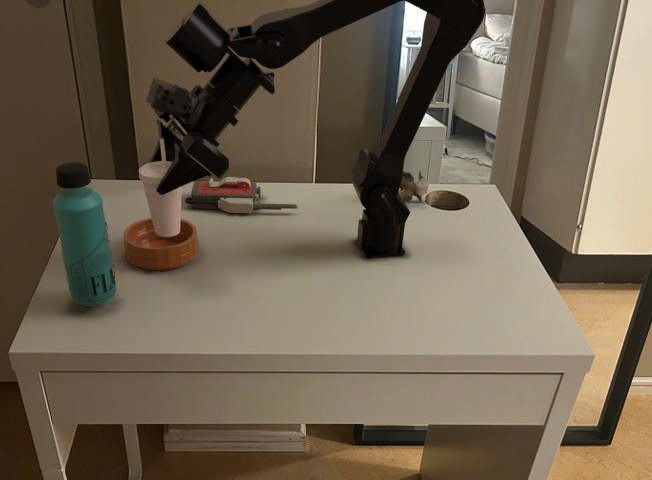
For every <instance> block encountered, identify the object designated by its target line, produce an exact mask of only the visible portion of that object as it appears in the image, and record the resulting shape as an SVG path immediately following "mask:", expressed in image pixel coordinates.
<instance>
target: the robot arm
mask: <svg viewBox="0 0 652 480" xmlns="http://www.w3.org/2000/svg"><path fill="white" fill-rule="evenodd" d="M400 2H405V3H408V4H410V5H412V6H414V7H416V8H418V9H420V10H421V11H423V12H426V14H425V17H424V21H423V28H422V35H421V43H420V49H419V51H418V53H417V55H416V58H415V60H414V62H413V64H412V66H411V69H410V71H409V73H408V74H407V78H406V79H405V82H404V85H403V87H402V89H401V91H400V94H399V96H398V98H397V99H396V103H395V105H394V107H393V109H392V111H391V113H390V116H389V118H388V120H387V123H386V125H385V127H384V129H383V131H382V134H381V135H380V138H379V140H378V142H377V143H376V144H375V145H374V146H373V147H372V148H371V149H370V150H367V148H365V147H361V148H360V150H359V153H358V158H357V161H356V163H355V165H354V166H353V167H352V168H351V169H350V172H351V174H352V179H351V181H352V186H353V189H354V191H355V192H356V196H357V197H358V199H359V201H360V203H361V206H362V207H363V208H364V209H362V215H361V218H360V219H359V220H358V224H357V225H358V226H357V235H356V236H357V237H356V244H357V245H358V247H359V248H360V250H361V251H362V252H363V254H364V256H365V257H366V258H367V259H374V258H385V257H387V258H388V257H398V256H399V257H401V256H406V250H405V249H404V247H403V243H404V235H405V228H406V223H407V221H408V218H409V217H410V214H411V211H410V209H409V207H408V205H407V204H406V202H404V200H403V199H402V197H401V195H400V193H399V191H400V190H401V189H400V186H401V182H402V177H403V171H404V168H405V161H406V156H407V154H408V152H409V149H410V147H411V146H412V144H413V141H414V139H415V137H416V135H417V132H418V131H419V128H420V126H421V124H422V122H423V120H424V118H425V116H426V114H427V111H428V109H429V108H430V105H431V103H432V101H433V99H434V97H435V95H436V93H437V91H438V89H439V87H440V85H441V82H442V81H443V79H444V76H445V75H446V72H447V70H448V67H449V65H450V64H451V62H452V61H453V60H454V59H455V58H456V57H457V56H458V55H459V54H460V53H461V52H462V51H463V50H464V49H465V48H466V47H467V46H468V44H469V43H470V42H471V41H472V39H473V37H474V36H475V34H476V33H477V31H478V30H479V28H480V26H481V25H482V24H483V22H484V19H485V15H486V12H487V11H486V9H487V8H486V5H485V1H484V0H317V1H315V2H313V3H310V4H307V5H303V6H297V7H290V8H284V9H279V10H275V11H272V12H268V13H264V14H262V15H259V16H258V17H256V18H255V19H254V20H253V21H252V23H251V24H245V25H240V26H234V27H228V28H226V27H225V26H224V25H223V24H222V23H221V22H220V21H219V20H217V19H216V17H214V16H213V14H212V13H211V12H210V11H209V9H208V7H207V6H206V5H205V4H204V3H202V1H198V2H197V3H196V4H195V6H193V8H191V9H190V10H189V11H188V12H187V13H186V14H185V15H184V16H181V18H180V19H179V20H178V21H177V23H176V24H175V25H174V27H173V28H172V30H171V31H170V32H169V34H168V35H167V37H166V39H165V41H164V43H165V44H166V45H167V46H168V47H169V48H170V49H172V50H173V51H174V52H175V54H177V55H178V56H179V57H180V58H181V59H182V60H184V62H186V63H187V64H188V65H189V66H190V67H191V68H192V69H193V70H194V71H195V72H196V73H198V74H199V73H201V72H202V71H203V73H205V74H206V73H207V72H208V73H211V72H213V71H214V70H215V69H216V67H217V66H218V65H219V64H220V63H221V61H222V60H223V59H224V57H225V56H226V55H228V56H227V57H226V58H225V59H224V61H222V63H221V64H220V66H219V67H218V68H217V69H216V71H215V72H214V73H213V75H211V77H210V78H209V79H208V81H207V82H206V83H205V85H204V86H203V87H202V86H201V85H200V84H198V85H194V87H193V88H192V89H191V90H190V91H189V89H187V88H186V87H184V86H183V87H181V86H180V85H178V84H176V83H175V84H173V83H169V82H167V81H164V80H161V79H160V78H156V77H153V78H152V81H151V84H150V86H149V89H148V92H147V93H148V94H147V96H146V99H145V102H146V103H149V105H150V108H151V109H153V110H154V113H155V114H156V116H157V117H158V118H159V119H161V120H162V121H160V120H159V119H156V125H157V129H158V140H157V143H156V145H155V148H154V151H153V152H152V156H151V158H150V160H149V162H148V163H152V162H158V161H162V155H161V145H160V138H164V145H165V155H166V161H170V162H172V164H171V166H170V167H169V169H168V170H167V172H166V174H165V175H164V177H163V178H162V180H161V182H160V184H159V185H158V187H157V189H156V191H157V192H158V193H159V194H160V195H164V194H166V193H168V192H171V191H173V190H175V189H177V188H179V187H181V186H182V187H183V186H186V185H189V184H191V183H194V181H199V180H200V179H203V178H205V177H209V178H210V177H212V176H213V175H214V176H215V177H216V178H217V179H220V180H222V179H223V177H224V176H225V174H226V173H227V172H228V171H229V169H230V159H229V157H228V156H226V154H225V153H224V152H223V151H222V150H221V149H220V148H218V147H219V146H220V142H218V140H217V139H218V138H219V137H220V136H221V135H222V134H223V132H224V131H225V130H226V128H228V126H229V125H230V124H231V126H232V127H235V126H236V125H237V124H238V123H239V120H238V119H237V118H236V116H238V114H239V113H240V111H242V109H243V108H244V106H245V105H247V103H248V102H249V100H250V99H251V98H252V97H253V95H254V94H255V93H256V92H257V90H258V89H259V88H260V87H261V88H262V89H263V90H264V91H265V92H267V93H268V94H270V95H274V94H275V92H276V90H275V81H274V80H275V72H273V71H271V70H276V69H277V70H278V69H280V68H283V67H285V66H286V65H287V64H288V63H290V62H292V61H293V60H295V59H296V58H298V57H299V56H301V55H302V54H303V53H305V52H306V51H307V50H308V49H309V48H310V47H311V46H312V45H313V44H314V43H315V42H317V41H318V40H320V39H322V38H323V37H325V36H327V35H330V34H331V33H334V32H337V31H339V30H340V29H342V28H344V27H345V28H346V27H347V26H349V25H352V24H354V23H356V22H358V21H360V20H362V19H364V18H367V17H369V16H371V15H374V14H376V13H378V12H380V11H383V10H384V9H385V10H386V9H387V8H389V7H392V6H393V5H396V4H398V3H400ZM241 58H245V59H244V60H242V59H241ZM254 60H255V61H254ZM256 62H257V63H258V64H259V65H260V66H261V67H264V68H266V69H269V71H265V70H263V69H262V68H261V67H260V66H259V65H258V64H257V63H256Z"/></svg>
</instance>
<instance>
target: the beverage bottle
mask: <svg viewBox="0 0 652 480" xmlns="http://www.w3.org/2000/svg"><path fill="white" fill-rule="evenodd" d="M55 175H56V179H55V180H56V185H57V186H58V187H60V188H62V190H61V191H59V192H58V194H57V195H56V196H55V197H54V198H53V200H52V207H53V211H54V216H55V220H56V221H55V222H56V225H57V230H58V235H59V241H60V246H61V252H62V263H63V264H64V272H65V280H66V284H67V288H68V289H67V290H68V291H69V294H70V297H71V299H72V301H73V302H74V303H75V304H78V305H80V306H87V307H88V306H89V307H95V306H100V305H104V304H106V303H108V302H110V301H111V300H113V299H114V297H115V296H116V293H117V286H116V285H117V282H116V273H115V272H114V268H115V267H114V265H113V263H114V262H113V260H112V258H113V256H112V252H111V248H110V242H111V241H110V239H109V232H108V227H107V226H108V222H107V220H106V218H107V216H106V215H105V211H104V207H103V206H104V205H103V197H102V195H101V194H100V193H98V192H97V191H96V190H94V189H93V188H91V187H88V186H89V185H90V184H91V182H92V179H91V176H90V172H89V168H88V165H86V164H85V163H83V162H76V161H73V162H66V163H63V164H60V165H58V166H57V167H56V168H55Z"/></svg>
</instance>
